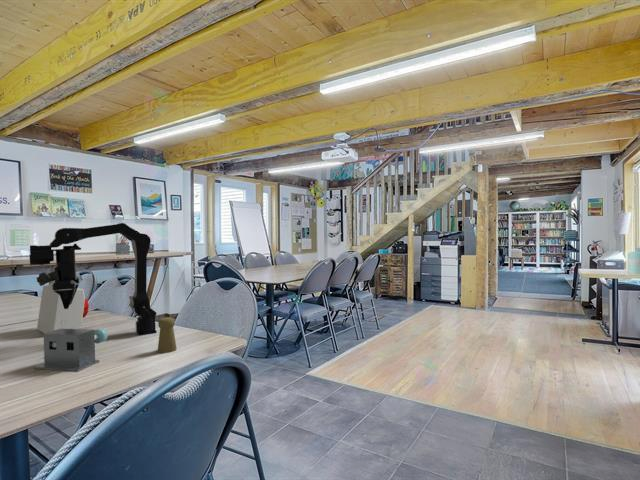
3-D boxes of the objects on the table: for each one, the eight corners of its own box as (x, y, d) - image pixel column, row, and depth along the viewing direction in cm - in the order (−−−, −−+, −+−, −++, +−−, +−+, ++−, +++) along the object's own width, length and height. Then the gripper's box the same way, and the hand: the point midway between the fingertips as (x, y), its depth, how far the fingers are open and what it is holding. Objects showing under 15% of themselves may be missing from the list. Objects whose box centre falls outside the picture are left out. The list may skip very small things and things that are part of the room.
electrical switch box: (92, 333, 159) (98, 286, 162) (52, 336, 147) (59, 285, 149) (75, 329, 167) (81, 284, 169) (36, 331, 155) (43, 283, 157)
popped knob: (95, 341, 123) (95, 328, 123) (107, 341, 122) (107, 328, 122) (76, 348, 115) (76, 334, 115) (89, 349, 115) (88, 334, 115)
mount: (57, 359, 118) (56, 328, 118) (99, 361, 116) (98, 329, 116) (34, 368, 110) (33, 335, 110) (78, 371, 108) (77, 336, 108)
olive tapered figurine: (180, 348, 128) (179, 316, 128) (168, 353, 123) (167, 320, 123) (166, 346, 130) (165, 315, 130) (153, 352, 125) (152, 319, 125)
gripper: (42, 263, 138) (44, 305, 139) (32, 266, 122) (34, 314, 122) (78, 261, 143) (80, 301, 144) (73, 264, 127) (75, 310, 127)
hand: (67, 306), depth 134 cm, fingers open, 9 cm apart
